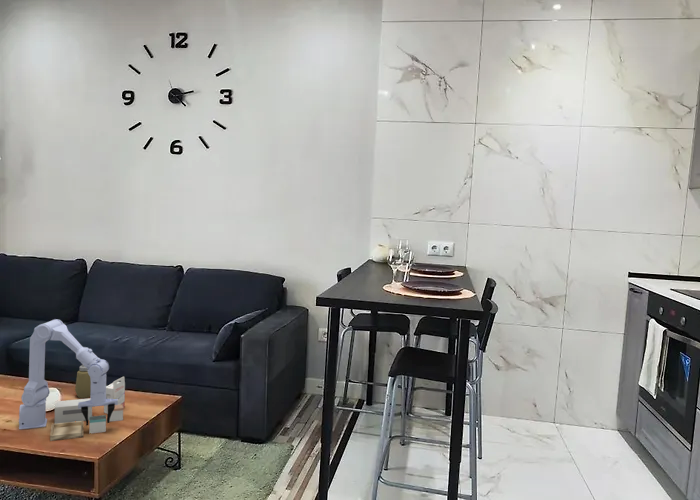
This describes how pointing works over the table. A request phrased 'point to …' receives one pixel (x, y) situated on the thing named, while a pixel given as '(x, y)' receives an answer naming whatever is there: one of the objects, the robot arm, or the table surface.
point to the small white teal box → (97, 424)
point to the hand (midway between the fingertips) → (97, 423)
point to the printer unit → (70, 411)
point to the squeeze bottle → (83, 383)
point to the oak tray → (66, 430)
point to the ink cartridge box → (116, 392)
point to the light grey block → (116, 413)
